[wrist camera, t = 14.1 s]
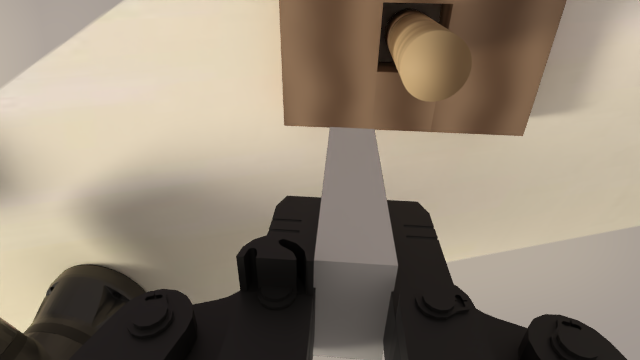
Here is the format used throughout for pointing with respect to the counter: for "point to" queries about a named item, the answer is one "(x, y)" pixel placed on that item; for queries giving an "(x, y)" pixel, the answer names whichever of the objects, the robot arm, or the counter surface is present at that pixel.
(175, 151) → the counter surface
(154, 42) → the counter surface
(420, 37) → the oak dowel
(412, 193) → the counter surface
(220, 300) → the robot arm
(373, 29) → the seat board
